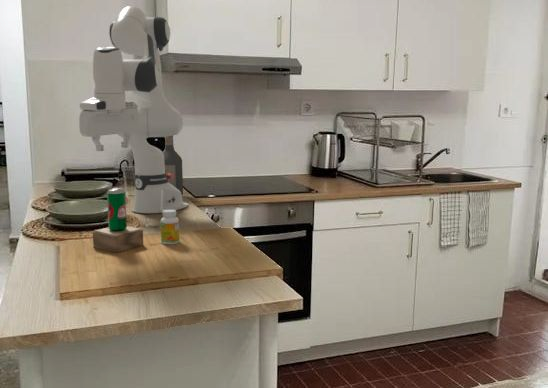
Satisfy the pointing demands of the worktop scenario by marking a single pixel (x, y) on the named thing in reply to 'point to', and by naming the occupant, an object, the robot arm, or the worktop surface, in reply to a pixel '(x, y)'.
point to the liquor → (173, 164)
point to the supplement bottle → (169, 227)
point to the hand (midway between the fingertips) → (112, 149)
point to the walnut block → (117, 239)
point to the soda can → (116, 209)
